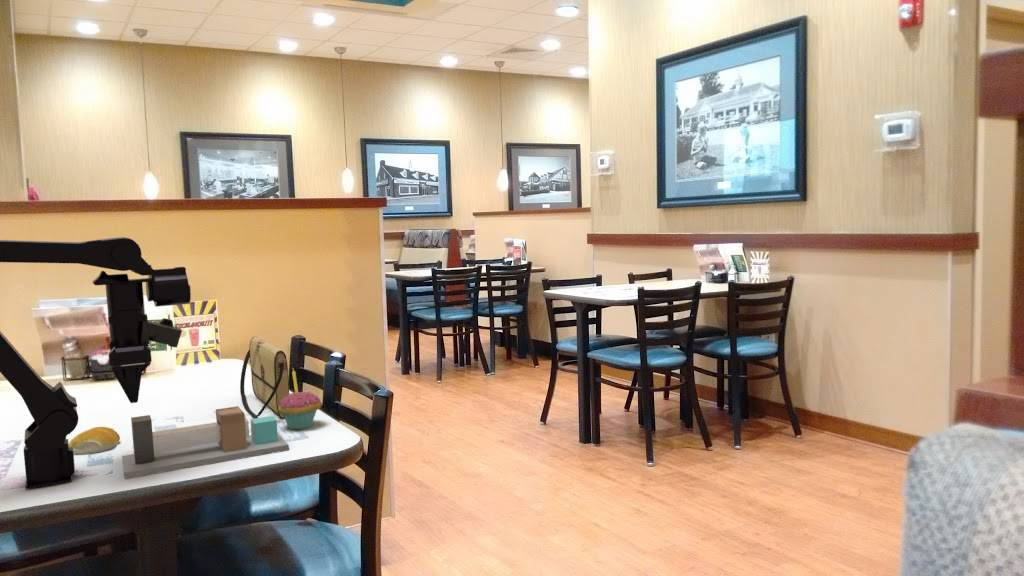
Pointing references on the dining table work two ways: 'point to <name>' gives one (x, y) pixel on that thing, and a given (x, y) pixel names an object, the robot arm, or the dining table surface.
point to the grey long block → (171, 437)
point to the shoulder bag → (266, 375)
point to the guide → (207, 448)
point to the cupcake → (299, 407)
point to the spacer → (264, 430)
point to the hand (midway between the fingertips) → (133, 397)
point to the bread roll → (94, 440)
